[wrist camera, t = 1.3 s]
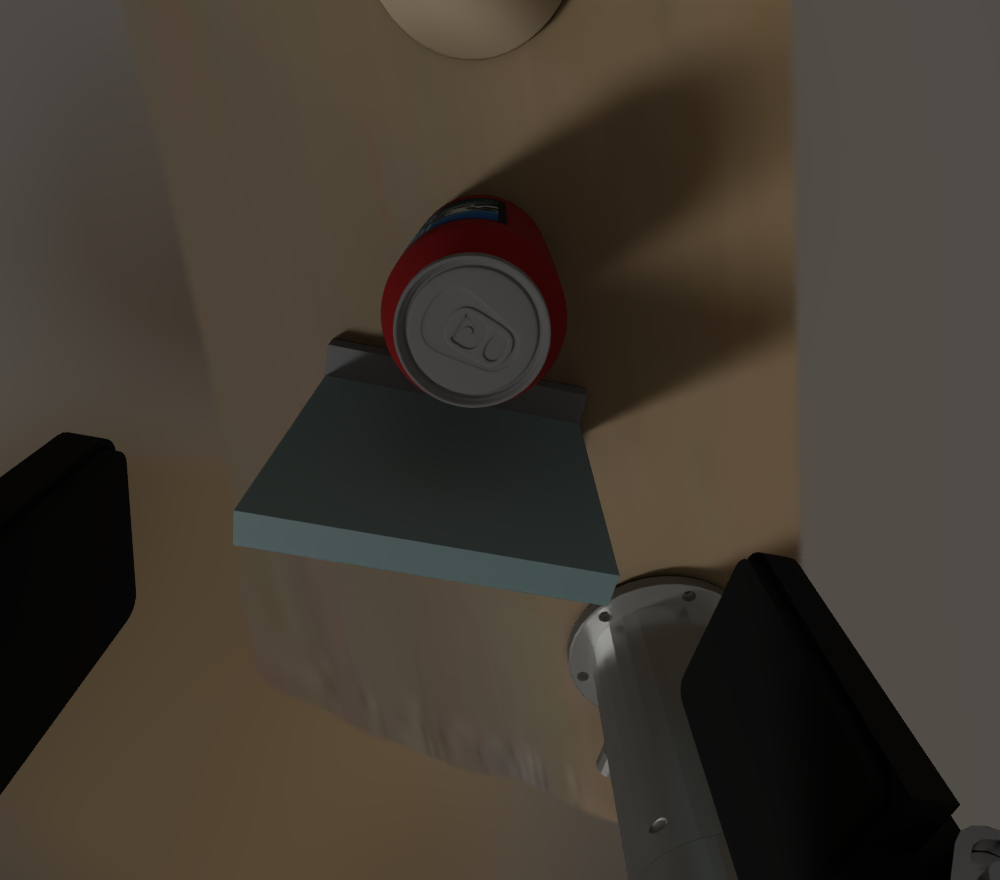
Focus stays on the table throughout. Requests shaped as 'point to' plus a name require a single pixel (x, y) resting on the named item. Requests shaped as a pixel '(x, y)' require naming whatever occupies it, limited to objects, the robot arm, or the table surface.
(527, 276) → the beverage can
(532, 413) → the screen
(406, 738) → the table surface
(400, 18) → the coaster
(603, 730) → the robot arm
